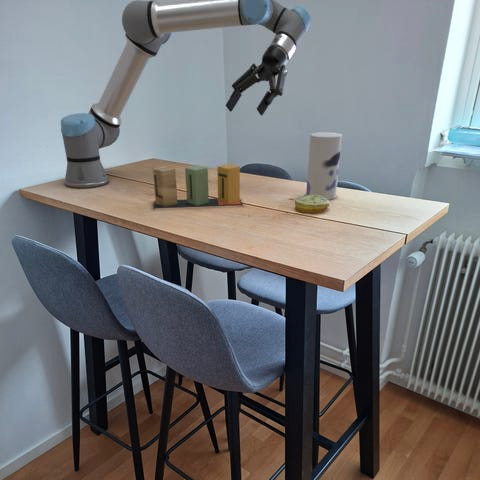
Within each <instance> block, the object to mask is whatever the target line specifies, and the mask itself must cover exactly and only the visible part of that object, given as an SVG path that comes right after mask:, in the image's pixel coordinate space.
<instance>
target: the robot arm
mask: <svg viewBox="0 0 480 480" xmlns="http://www.w3.org/2000/svg"><path fill="white" fill-rule="evenodd" d="M121 23H122V24H121V25H122V28H123V31H124V33H125V34H124V36H125V40H126V43H125V45H124V48H123V49H122V51H121V53H120V56H119V58H118V61H117V63H116V65H115V67H114V69H113V71H112V72H111V76H110V78H108V79H109V80H108V81H107V84H106V86H105V88H104V90H103V92H102V95H101V97H100V99H99V101H98V102H96V103H92V104H91V107H90V108H89V111H88V113H87V112H82V113H81V112H79V113H73V114H67V115H65V116H64V117H62V118H61V119H60V131H61V132H60V133H61V136H62V140H63V141H62V142H63V146H64V152H65V158H66V163H67V165H66V169H65V177H64V180H65V181H64V182H65V185H66V187H69V188H72V189H73V188H74V189H75V188H76V189H90V188H96V187H101V186H105V185H107V184H108V183H109V176H108V174H107V172H106V170H105V168H104V165H103V164H102V161H101V157H100V156H101V155H100V149H103V148H106V147H109V146H112V145H113V144H114V143H115V142H116V141H117V140H118V138H119V137H120V133H121V128H120V127H121V124H122V123H123V121H122V118H121V115H122V113H123V111H124V109H125V107H126V105H127V104H128V101H129V100H130V97H131V95H132V93H133V91H134V89H135V87H136V85H137V84H138V82H139V80H140V78H141V76H142V74H143V72H144V70H145V68H146V66H147V65H148V62H149V60H150V59H151V58H155V57H156V56H157V55H158V53H159V51H160V49H161V48H162V45H165V44H166V43H167V42H169V40H170V39H171V37H172V34H173V33H181V32H190V31H192V32H193V31H200V30H211V29H212V30H213V29H221V28H231V27H240V26H241V27H242V26H253V25H254V26H255V25H259V26H262V27H264V28H265V29H267V30H268V31H271V33H273V34H275V35H274V36H273V39H272V41H271V42H270V44H269V45H268V47H267V48H266V50H265V51H264V53H263V55H262V57H261V63H260V64H258V65H256V63H252V64H251V65H250V66H249V68H248V69H247V70H246V71H245V72H244V73H243V74H242V75H241V76H240V77H238V78H237V79H236V80H235V81H234V82H233V83H232V84H231V87H232V89H233V91H232V93H231V94H230V96H229V99H228V100H227V102H226V103H225V107H226V108H227V110H228V111H229V112H233V110H234V109H235V107H236V106H237V104H238V102H239V101H240V99H241V97H242V96H243V95H242V93H244V92H245V91H247V90H248V89H249V88H251V87H252V86H254V85H255V84H256V83H258V84H259V83H260V82H268V84H269V88H268V89H269V90H267V91H266V93H265V94H264V96H263V97H262V99H261V101H260V102H259V104H258V105H257V107H256V110H257V112H258V114H259V115H260V116H263V115H264V114H265V112H266V111H267V109H268V107H269V106H270V105H271V104H272V103H273V101H274V99H276V98H277V97H278V96H279V97H282V96H283V95H284V89H285V83H286V82H285V81H286V77H287V75H288V73H289V71H288V68H287V67H286V66H287V64H288V62H289V61H290V60H291V58H292V56H293V54H294V53H295V51H296V49H298V46H299V45H300V43H301V41H302V40H303V38H304V37H305V36H306V33H307V32H308V30H309V28H310V26H311V23H312V18H311V14H310V13H309V11H308V10H307V9H306V8H304V7H303V6H299V5H295V6H293V7H292V8H291V9H289V8H287V7H285V6H284V5H282V4H280V2H277V1H276V0H183V1H175V2H165V3H160V2H159V1H158V0H132V1H131V2H129V3H128V4H126V6H125V8H124V9H123V11H122V15H121ZM276 76H277V79H276Z"/></svg>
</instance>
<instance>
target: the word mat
mask: <svg viewBox="0 0 480 480" xmlns="http://www.w3.org/2000/svg"><path fill="white" fill-rule="evenodd" d="M153 201H154V202H153V209H154V210H155V209H157V210H158V209H179V208H180V209H181V208H184V209H185V208H209V207H237V206H243V203H242V201H241V200H240V201H238V202H235V203H231V204H226V203H223V202H220V201H218V197H217V198H213V197H212V198H209V203H206V204H202V205H198V206H196V205H193V204H190V203H187V198H185V199H177V202H178V204H175V205H171V206H167V207H164V206H161V205H158V204H156V200H155V199H154V200H153Z"/></svg>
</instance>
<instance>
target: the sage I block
mask: <svg viewBox="0 0 480 480" xmlns="http://www.w3.org/2000/svg"><path fill="white" fill-rule="evenodd" d="M184 170H185V171H184V173H185V188H186V189H185V190H186V199H187V203H190V204H193V205H196V206H198V205H202V204H206V203H209V199H210V197H209V168H208V167H206V166H202V165H192V166H187V167H185V168H184Z"/></svg>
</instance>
